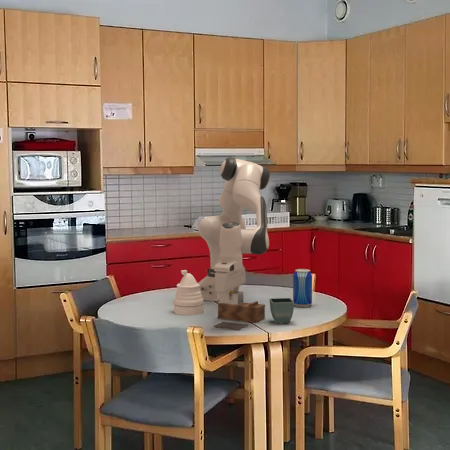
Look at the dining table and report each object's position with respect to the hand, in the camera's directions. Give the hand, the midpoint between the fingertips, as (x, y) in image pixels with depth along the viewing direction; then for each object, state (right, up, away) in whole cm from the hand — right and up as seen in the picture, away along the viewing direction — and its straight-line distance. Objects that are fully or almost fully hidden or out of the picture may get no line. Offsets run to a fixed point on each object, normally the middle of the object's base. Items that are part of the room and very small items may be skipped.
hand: (231, 299), depth 267 cm
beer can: (+32, -7, +38) cm, 50 cm away
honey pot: (-18, -9, +28) cm, 34 cm away
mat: (0, -11, +1) cm, 11 cm away
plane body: (+4, -9, +14) cm, 18 cm away
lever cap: (0, -1, 0) cm, 1 cm away
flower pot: (+20, -10, +8) cm, 24 cm away
